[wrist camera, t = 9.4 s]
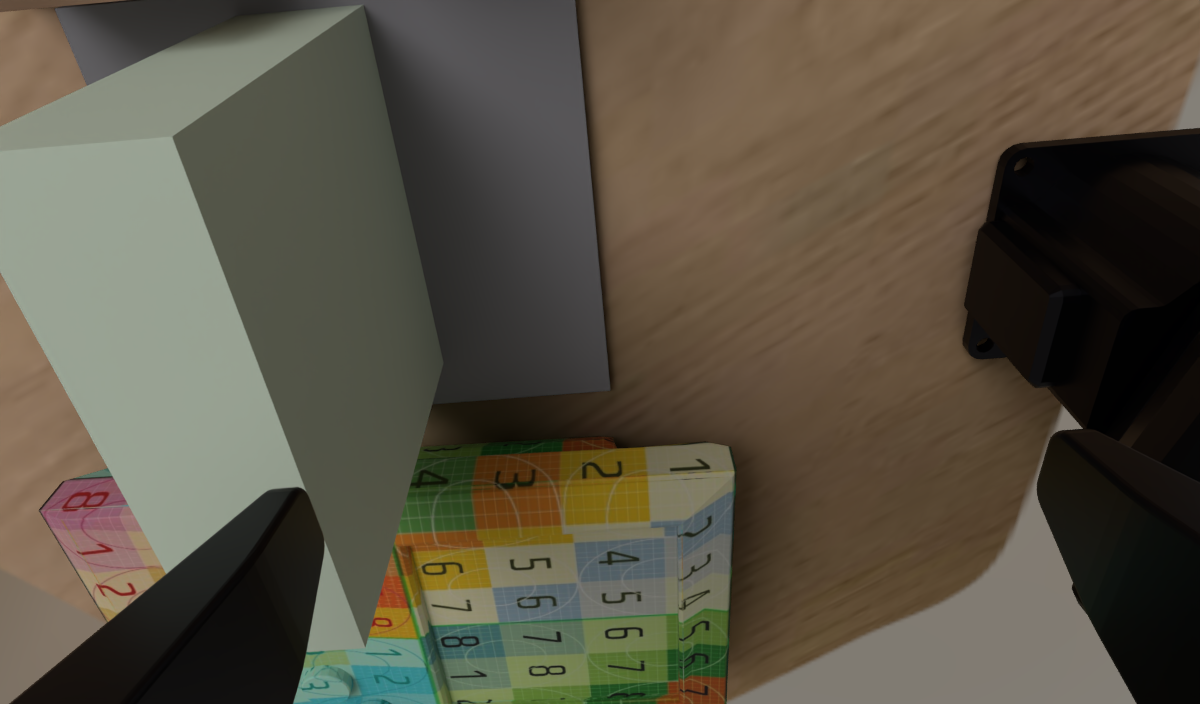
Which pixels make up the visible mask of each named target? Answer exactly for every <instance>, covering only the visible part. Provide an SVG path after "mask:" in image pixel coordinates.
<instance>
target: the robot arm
mask: <svg viewBox="0 0 1200 704" xmlns="http://www.w3.org/2000/svg"><path fill="white" fill-rule="evenodd" d="M1025 157H1027V162H1026V164H1025V166H1024V167H1023V168H1021V169H1020V170H1017V171H1014V167H1015V165H1016V163H1017V162H1018V161H1019V160H1020V159H1022V158H1025ZM964 306H965V308H966V309H967V310H968V316H967V321H966V326H965V331H964V336H963V346H964V347H965V349H966V350H967V351H968V353H969V354H970V355H971V356H972V357H974V358H976V359H992V358H1005V357H1007V358H1008V359H1009V360H1010V361H1011V363H1012V364H1013V365H1014V366H1015V367H1016V369H1017V370H1018V371H1019V372H1020V373H1021V375H1022V376H1023V377H1024V378H1025V379H1026V380H1027V381H1028V382H1029V383H1030V384H1031V385H1032V386H1033V387H1035V388H1042V387H1047V388H1048V389H1049V390H1050V391H1051V392H1052V393H1053V395H1054V396H1055V397H1056V398H1057V399H1058V400H1059V401H1060V403H1061V404H1062V405H1063V406H1064V407H1065V408H1066V409H1067V411H1068V412H1069V413H1070V414H1071V415H1072V416H1073V418H1074V419H1075V420H1076V421H1077V422H1078V423H1079V425H1080V426H1081V427H1082V428H1083V429H1075V430H1062V431H1058V432H1056V433H1055V434H1053V436H1052V437H1051V438H1050V441H1049V444H1048V447H1047V450H1046V454H1045V457H1044V461H1043V464H1042V467H1041V471H1040V474H1039V478H1038V482H1037V496H1038V500H1039V503H1040V505H1041V508H1042V510H1043V512H1044V515H1045V517H1046V520H1047V522H1048V524H1049V527H1050V529H1051V531H1052V534H1053V536H1054V539H1055V541H1056V543H1057V546H1058V548H1059V550H1060V553H1061V555H1062V557H1063V560H1064V562H1065V564H1066V567H1067V569H1068V572H1069V574H1070V576H1071V579H1072V581H1073V585H1072V590H1073V593H1074V595H1075V597H1076V599H1077V601H1078V603H1079V605H1080V606H1081V607H1082V609H1083V610H1084V611H1085V612H1086V614H1087V615H1088V617H1089V619H1090V620H1091V622H1092V624H1093V626H1094V628H1095V630H1096V632H1097V634H1098V636H1099V637H1100V639H1101V641H1102V643H1103V644H1104V646H1105V648H1106V650H1107V652H1108V653H1109V655H1110V657H1111V659H1112V660H1113V662H1114V664H1115V666H1116V668H1117V669H1118V671H1119V673H1120V675H1121V676H1122V678H1123V680H1124V682H1125V684H1126V685H1127V687H1128V689H1129V691H1130V693H1131V694H1132V696H1133V698H1134V700H1135V702H1136V703H1137V704H1200V128H1194V129H1182V130H1170V131H1158V132H1147V133H1135V134H1123V135H1111V136H1099V137H1087V138H1076V139H1064V140H1052V141H1040V142H1028V143H1019V144H1016V145H1013V146H1011V147H1010V148H1008V149H1007V150H1005V152H1004V153H1003V154H1002V155H1001V157H1000V159H999V162H998V165H997V170H996V175H995V180H994V185H993V190H992V195H991V200H990V205H989V210H988V215H987V220H986V222H985V223H984V224H983V226H982V227H981V228H980V229H979V231H978V236H977V241H976V246H975V251H974V256H973V261H972V266H971V271H970V277H969V282H968V287H967V292H966V297H965V302H964ZM985 338H988V339H987V341H986V342H985V343H983V344H981V345H977V344H978V342H979V341H980V340H982V339H985ZM324 551H325V543H324V536H323V532H322V530H321V527H320V524H319V522H318V519H317V516H316V514H315V511H314V509H313V506H312V503H311V501H310V498H309V496H308V494H307V492H306V491H305V490H304V489H302V488H300V487H290V488H277V489H271V490H268V491H266V492H265V493H263V494H262V495H261V496H260V497H258V498H257V499H256V500H255V501H254V502H252V503H251V504H250V505H249V506H248V507H246V508H245V509H244V510H243V511H242V512H240V513H239V514H238V515H237V516H236V517H234V518H233V519H232V520H231V521H229V522H228V523H227V524H226V525H225V526H223V527H222V528H221V529H220V530H219V531H217V532H216V533H215V534H214V535H213V536H211V537H210V538H209V539H208V540H207V541H205V542H204V543H203V544H202V545H200V546H199V547H198V548H197V549H196V550H194V551H193V552H192V553H191V554H190V555H188V556H187V557H186V558H185V559H184V560H182V561H181V562H180V563H179V564H178V565H176V566H175V567H174V568H173V569H172V570H170V571H169V572H168V573H167V574H165V575H164V576H163V577H162V578H161V579H159V580H158V581H157V582H156V583H155V584H153V585H152V586H151V587H150V588H149V589H147V590H146V591H145V592H144V593H143V594H141V595H140V596H139V597H138V598H136V599H135V600H134V601H133V602H132V603H130V604H129V605H128V606H127V607H126V608H124V609H123V610H122V611H121V612H120V613H118V614H117V615H116V616H115V617H114V618H112V619H111V620H110V621H109V622H108V623H106V624H105V625H104V626H103V627H101V628H100V629H99V630H98V631H97V632H96V633H94V634H93V635H92V636H91V637H90V638H88V639H87V640H86V641H85V642H83V643H82V644H81V645H80V646H79V647H77V648H76V649H75V650H74V651H72V652H71V653H70V654H69V655H68V656H67V657H65V658H64V659H63V660H62V661H60V662H59V663H58V664H57V665H56V666H55V667H53V668H52V669H51V670H50V671H48V672H47V673H46V674H45V675H43V676H42V677H41V678H40V679H39V680H38V681H36V682H35V683H34V684H33V685H31V686H30V687H29V688H28V689H27V690H25V691H24V692H23V693H22V694H21V695H19V696H18V697H17V698H16V699H14V700H13V701H12V702H11V703H10V704H293V703H294V699H295V696H296V693H297V689H298V686H299V682H300V678H301V675H302V671H303V667H304V662H305V657H306V652H307V647H308V642H309V636H310V630H311V625H312V619H313V614H314V608H315V603H316V597H317V591H318V586H319V580H320V575H321V569H322V564H323V558H324Z"/></svg>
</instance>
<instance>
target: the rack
mask: <svg viewBox="0 0 1200 704" xmlns="http://www.w3.org/2000/svg"><path fill="white" fill-rule="evenodd" d="M113 1H124V0H0V12H5V11H16V10H27V9H38V8H49V7H59V6H70V5H81V4H92V3H102V2H113Z"/></svg>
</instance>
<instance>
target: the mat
mask: <svg viewBox="0 0 1200 704" xmlns="http://www.w3.org/2000/svg"><path fill="white" fill-rule="evenodd" d="M353 5H363V6H364V10H365V14H366V19H367V23H368V28H369V32H370V37H371V41H372V46H373V50H374V55H375V59H376V64H377V68H378V72H379V77H380V81H381V86H382V90H383V95H384V99H385V104H386V108H387V113H388V117H389V122H390V126H391V131H392V135H393V139H394V144H395V148H396V153H397V157H398V162H399V166H400V171H401V175H402V180H403V184H404V189H405V193H406V197H407V202H408V206H409V211H410V215H411V220H412V224H413V229H414V233H415V238H416V242H417V247H418V251H419V256H420V260H421V264H422V269H423V273H424V278H425V282H426V287H427V291H428V296H429V300H430V305H431V309H432V314H433V318H434V323H435V327H436V331H437V336H438V340H439V345H440V349H441V354H442V358H443V367H442V371H441V374H440V378H439V381H438V385H437V389H436V392H435V396H434V400H433V403H432V404H443V403H456V402H469V401H482V400H495V399H508V398H521V397H534V396H547V395H560V394H573V393H586V392H599V391H610V377H609V366H608V355H607V344H606V333H605V322H604V311H603V300H602V289H601V278H600V267H599V256H598V245H597V234H596V223H595V212H594V201H593V190H592V179H591V168H590V157H589V146H588V135H587V124H586V113H585V102H584V91H583V80H582V69H581V58H580V47H579V36H578V24H577V13H576V2H575V0H124V1H113V2H102V3H92V4H81V5H70V6H61V7H58V8H55V11H56V14H57V16H58V18H59V21H60V23H61V25H62V28H63V30H64V32H65V35H66V37H67V39H68V42H69V44H70V46H71V49H72V51H73V54H74V56H75V58H76V61H77V63H78V65H79V68H80V70H81V72H82V75H83V77H84V79H85V82H86V84H87V86H88V85H90V84H92V83H94V82H96V81H99V80H101V79H103V78H105V77H107V76H109V75H111V74H113V73H116V72H118V71H120V70H122V69H124V68H126V67H128V66H130V65H133V64H135V63H137V62H139V61H141V60H143V59H145V58H148V57H150V56H152V55H154V54H156V53H158V52H160V51H162V50H165V49H167V48H169V47H171V46H173V45H175V44H177V43H179V42H182V41H184V40H186V39H188V38H190V37H192V36H194V35H196V34H199V33H201V32H203V31H205V30H207V29H209V28H211V27H214V26H216V25H218V24H220V23H222V22H224V21H226V20H228V19H231V18H233V17H235V16H241V15H252V14H263V13H274V12H286V11H297V10H308V9H319V8H331V7H342V6H353Z"/></svg>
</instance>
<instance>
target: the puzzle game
mask: <svg viewBox="0 0 1200 704" xmlns="http://www.w3.org/2000/svg"><path fill="white" fill-rule="evenodd" d="M736 471H737V470H736V466H735V462H734V458H733V454H732V450H731V447H730V446H725V445H720V444H715V443H710V442H695V443H684V444H673V445H662V446H650V447H639V448H620V449H617V447H616V445H615V443H614V439H613V437H598V436H596V437H579V438H562V439H545V440H528V441H511V442H494V443H477V444H460V445H443V446H426V447H420V451H419V454H418V458H417V462H416V465H415V469H414V473H413V476H412V480H411V484H410V487H409V491H408V495H407V498H406V502H405V506H404V509H403V513H402V516H401V520H400V524H399V527H398V531H397V535H396V538H395V542H394V546H393V549H392V553H391V557H390V560H389V564H388V568H387V571H386V575H385V578H384V582H383V586H382V589H381V593H380V597H379V600H378V604H377V608H376V611H375V615H374V619H373V622H372V626H371V630H370V633H369V637H368V640H367V644H366V648H360V649H344V650H329V651H314V652H306V657H305V662H304V667H303V671H302V675H301V678H300V682H299V686H298V689H297V693H296V696H295V699H294V703H293V704H726V701H727V678H728V655H729V632H730V609H731V586H732V563H733V540H734V517H735V494H736ZM39 512H40V513H41V515H42V517H43V518H44V520H45V522H46V523H47V525H48V527H49V528H50V530H51V532H52V533H53V535H54V536H55V538H56V540H57V541H58V543H59V545H60V546H61V548H62V550H63V551H64V553H65V554H66V556H67V558H68V559H69V561H70V563H71V564H72V566H73V568H74V569H75V571H76V573H77V574H78V576H79V577H80V579H81V581H82V582H83V584H84V586H85V587H86V589H87V591H88V592H89V594H90V596H91V597H92V599H93V600H94V602H95V604H96V605H97V607H98V609H99V610H100V612H101V614H102V615H103V617H104V618H105V620H106V622H107V623H108V622H109V621H110V620H111V619H112V618H114V617H115V616H116V615H117V614H118V613H120V612H121V611H122V610H123V609H124V608H126V607H127V606H128V605H129V604H130V603H132V602H133V601H134V600H135V599H136V598H138V597H139V596H140V595H141V594H143V593H144V592H145V591H146V590H147V589H149V588H150V587H151V586H152V585H153V584H155V583H156V582H157V581H158V580H159V579H161V578H162V577H163V576H164V575H165V574H166V573H165V571H164V569H163V567H162V565H161V563H160V562H159V560H158V558H157V556H156V554H155V553H154V551H153V549H152V547H151V545H150V543H149V542H148V540H147V538H146V536H145V534H144V533H143V531H142V529H141V527H140V525H139V523H138V522H137V520H136V518H135V516H134V514H133V513H132V511H131V509H130V507H129V505H128V503H127V502H126V500H125V498H124V496H123V494H122V493H121V491H120V489H119V487H118V485H117V483H116V482H115V480H114V478H113V476H112V474H111V473H110V471H109V469H108V468H107V469H104V470H100V471H97V472H94V473H90V474H87V475H83V476H80V477H77V478H73V479H70V480H66V481H63V482H62V483H61V484H60V485H59V486H58V488H57V489H56V490H55V491H54V492H53V494H52V495H51V496H50V497H49V498H48V500H47V501H46V502H45V503H44V504H43V506H42V507H41V508H40V509H39Z"/></svg>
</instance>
